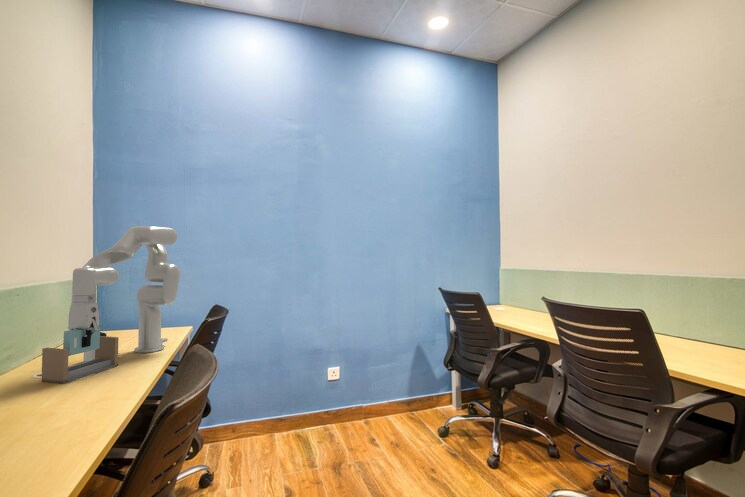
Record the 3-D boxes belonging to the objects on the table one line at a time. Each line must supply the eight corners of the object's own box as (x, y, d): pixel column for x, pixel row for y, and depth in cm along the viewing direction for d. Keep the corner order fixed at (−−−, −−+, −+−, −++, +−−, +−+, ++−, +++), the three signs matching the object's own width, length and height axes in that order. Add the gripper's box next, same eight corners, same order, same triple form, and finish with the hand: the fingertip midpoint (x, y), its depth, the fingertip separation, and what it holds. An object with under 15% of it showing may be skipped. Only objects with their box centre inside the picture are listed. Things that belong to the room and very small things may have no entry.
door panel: (93, 348, 149) (94, 325, 149) (99, 348, 148) (100, 326, 149) (62, 355, 137) (63, 331, 137) (69, 355, 136) (70, 331, 137)
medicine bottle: (96, 362, 157) (97, 334, 157) (83, 361, 158) (83, 334, 158) (111, 358, 164) (112, 331, 164) (98, 357, 165) (99, 330, 165)
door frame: (98, 364, 155) (98, 335, 155) (117, 365, 153) (118, 337, 153) (41, 381, 133) (42, 348, 133) (63, 383, 131) (64, 350, 131)
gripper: (110, 299, 145) (108, 345, 145) (76, 297, 149) (74, 343, 148) (91, 301, 138) (90, 350, 137) (57, 299, 141) (55, 347, 141)
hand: (82, 346), depth 143 cm, fingers closed on door panel, 3 cm apart
